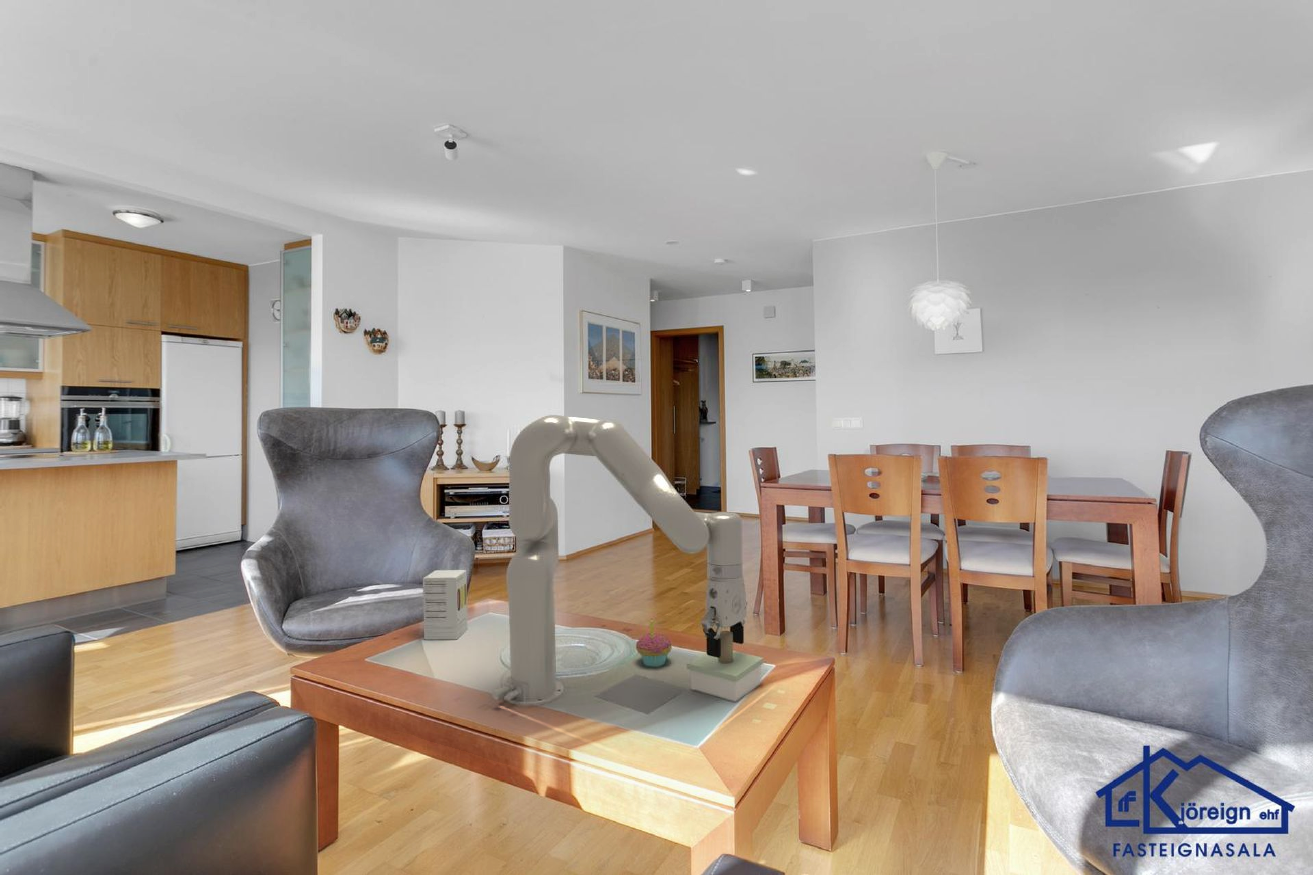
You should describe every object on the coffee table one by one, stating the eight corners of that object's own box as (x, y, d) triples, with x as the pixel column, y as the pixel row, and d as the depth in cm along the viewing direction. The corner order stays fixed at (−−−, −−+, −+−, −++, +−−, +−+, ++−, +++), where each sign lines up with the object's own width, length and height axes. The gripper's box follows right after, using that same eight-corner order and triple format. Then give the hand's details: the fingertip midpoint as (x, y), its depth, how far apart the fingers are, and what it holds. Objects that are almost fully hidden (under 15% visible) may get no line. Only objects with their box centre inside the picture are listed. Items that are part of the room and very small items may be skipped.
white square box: (735, 704, 132) (735, 680, 131) (690, 691, 138) (690, 668, 138) (760, 686, 140) (760, 663, 140) (717, 674, 147) (717, 652, 147)
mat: (647, 716, 127) (647, 713, 127) (594, 698, 135) (594, 696, 135) (687, 691, 138) (687, 689, 138) (636, 676, 146) (636, 674, 146)
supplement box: (457, 640, 172) (456, 577, 172) (423, 640, 172) (421, 578, 172) (468, 628, 182) (467, 569, 181) (435, 628, 182) (434, 569, 181)
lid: (736, 682, 131) (735, 646, 130) (686, 668, 138) (686, 635, 138) (763, 663, 140) (763, 630, 140) (716, 651, 147) (715, 620, 147)
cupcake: (668, 672, 148) (667, 621, 148) (632, 670, 150) (631, 619, 150) (674, 659, 157) (673, 610, 156) (640, 656, 158) (639, 608, 158)
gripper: (719, 581, 129) (719, 665, 130) (759, 564, 143) (760, 640, 144) (687, 576, 134) (688, 657, 134) (729, 560, 148) (730, 634, 148)
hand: (725, 649), depth 139 cm, fingers open, 9 cm apart
